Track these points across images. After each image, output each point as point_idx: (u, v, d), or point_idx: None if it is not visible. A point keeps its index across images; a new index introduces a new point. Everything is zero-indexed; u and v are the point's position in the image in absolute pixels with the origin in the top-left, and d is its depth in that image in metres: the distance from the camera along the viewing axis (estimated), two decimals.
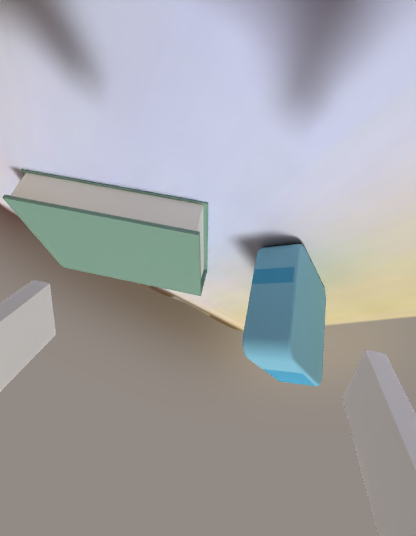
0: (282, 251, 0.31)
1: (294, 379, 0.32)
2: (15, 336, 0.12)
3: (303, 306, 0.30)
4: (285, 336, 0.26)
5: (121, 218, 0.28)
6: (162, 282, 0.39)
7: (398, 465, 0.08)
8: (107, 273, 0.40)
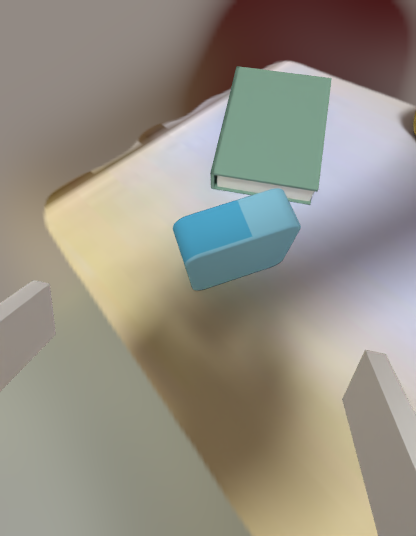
0: None
1: (214, 231, 0.29)
2: (15, 336, 0.12)
3: (268, 253, 0.35)
4: None
5: (322, 144, 0.42)
6: (230, 144, 0.42)
7: (398, 465, 0.08)
8: (235, 101, 0.45)
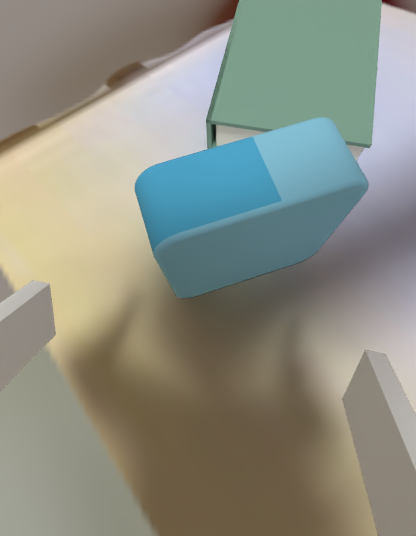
0: None
1: (209, 191, 0.15)
2: (15, 336, 0.12)
3: (299, 239, 0.21)
4: None
5: None
6: (237, 80, 0.28)
7: (398, 465, 0.08)
8: (243, 22, 0.31)
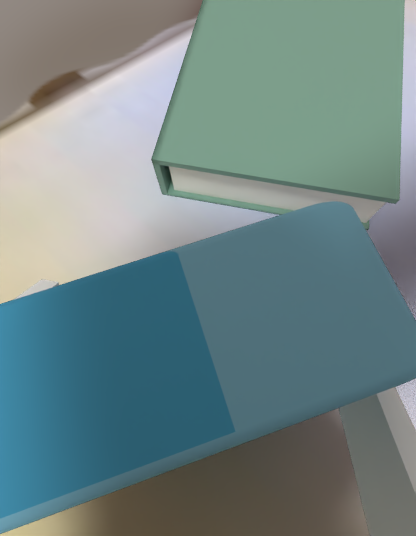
0: None
1: (61, 398, 0.06)
2: None
3: None
4: None
5: None
6: (199, 99, 0.20)
7: (386, 455, 0.09)
8: (211, 17, 0.22)
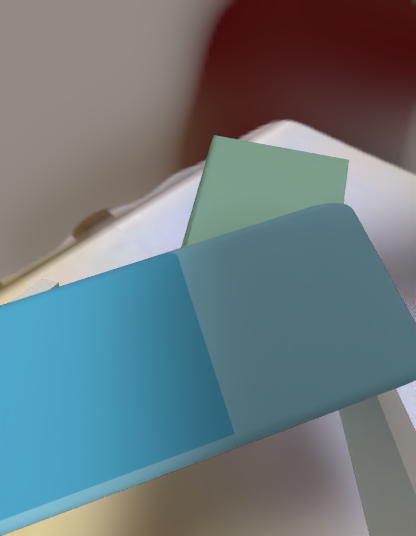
0: None
1: (61, 401, 0.06)
2: None
3: None
4: None
5: None
6: None
7: (386, 455, 0.09)
8: (207, 191, 0.31)
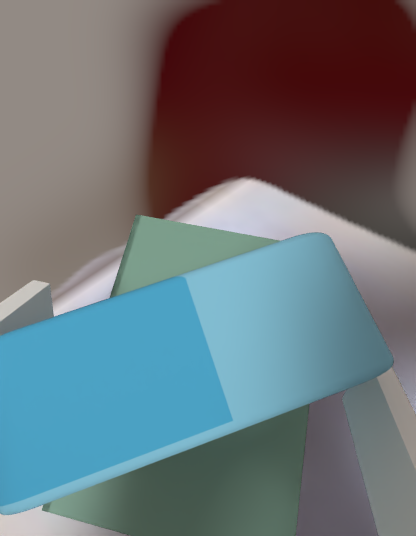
0: None
1: (96, 396, 0.08)
2: None
3: None
4: None
5: None
6: None
7: (398, 465, 0.08)
8: None
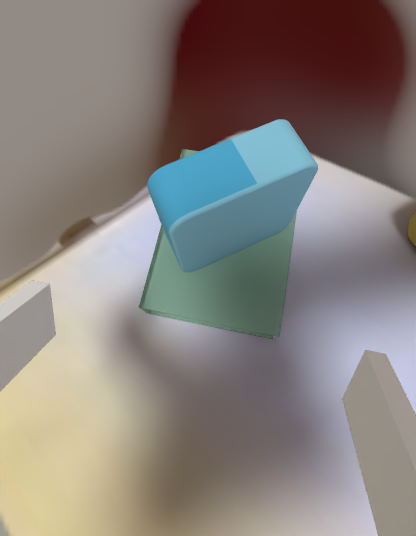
0: None
1: (204, 181, 0.21)
2: (15, 336, 0.12)
3: (274, 212, 0.27)
4: None
5: None
6: (168, 264, 0.32)
7: (398, 465, 0.08)
8: None
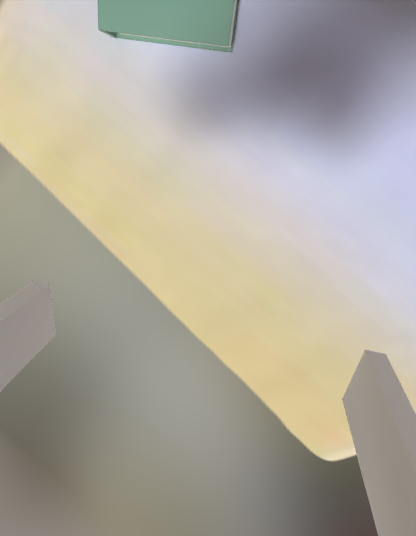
0: None
1: None
2: (15, 336, 0.12)
3: None
4: None
5: None
6: None
7: (398, 465, 0.08)
8: None
